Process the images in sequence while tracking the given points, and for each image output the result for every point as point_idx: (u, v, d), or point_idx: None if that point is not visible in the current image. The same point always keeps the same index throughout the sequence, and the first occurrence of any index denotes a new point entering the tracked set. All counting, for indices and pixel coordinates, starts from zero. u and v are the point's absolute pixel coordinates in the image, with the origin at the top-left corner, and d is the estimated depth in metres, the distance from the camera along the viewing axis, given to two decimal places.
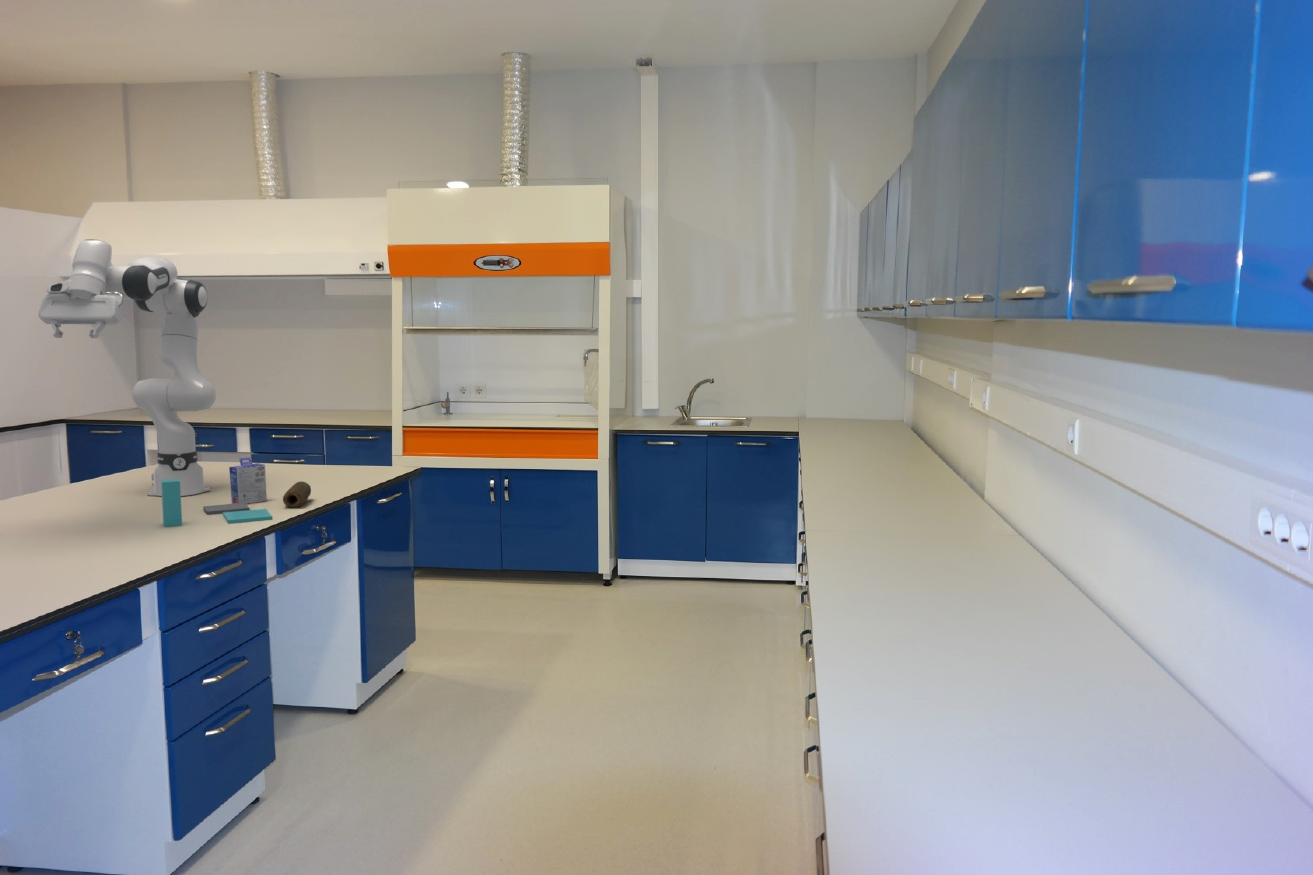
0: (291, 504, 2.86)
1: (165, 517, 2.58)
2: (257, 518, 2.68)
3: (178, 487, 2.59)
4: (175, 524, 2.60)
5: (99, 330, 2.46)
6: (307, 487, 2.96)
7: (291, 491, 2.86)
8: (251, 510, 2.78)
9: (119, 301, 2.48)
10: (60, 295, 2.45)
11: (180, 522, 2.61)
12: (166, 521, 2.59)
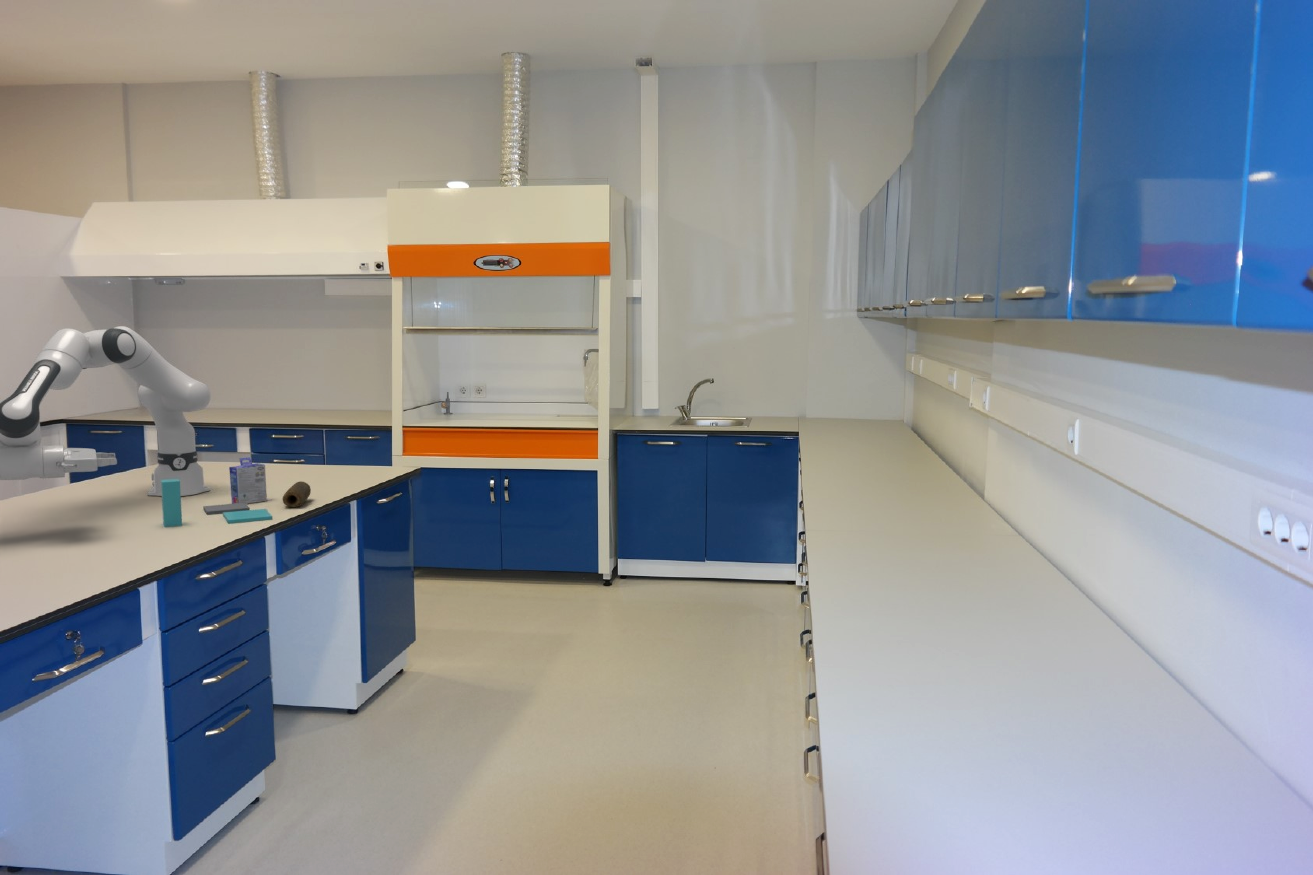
0: (291, 504, 2.86)
1: (165, 517, 2.58)
2: (257, 518, 2.68)
3: (178, 487, 2.59)
4: (175, 524, 2.60)
5: (107, 461, 2.46)
6: (307, 487, 2.95)
7: (291, 491, 2.86)
8: (251, 510, 2.78)
9: None
10: None
11: (180, 522, 2.61)
12: (166, 521, 2.59)
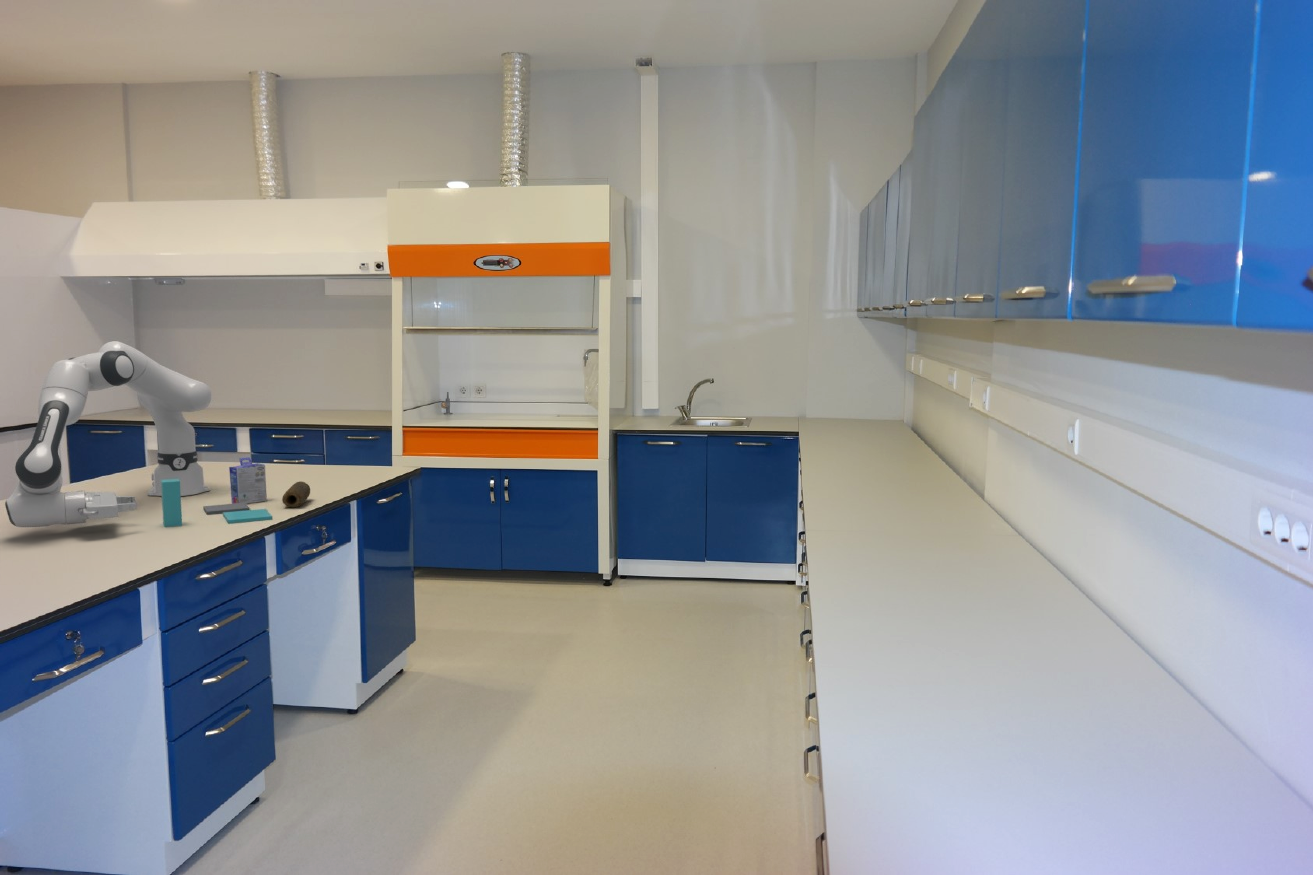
0: (291, 504, 2.86)
1: (165, 517, 2.58)
2: (257, 518, 2.68)
3: (178, 487, 2.59)
4: (175, 524, 2.60)
5: (128, 506, 2.50)
6: (307, 487, 2.95)
7: (291, 491, 2.86)
8: (251, 510, 2.78)
9: None
10: None
11: (180, 522, 2.61)
12: (166, 521, 2.59)
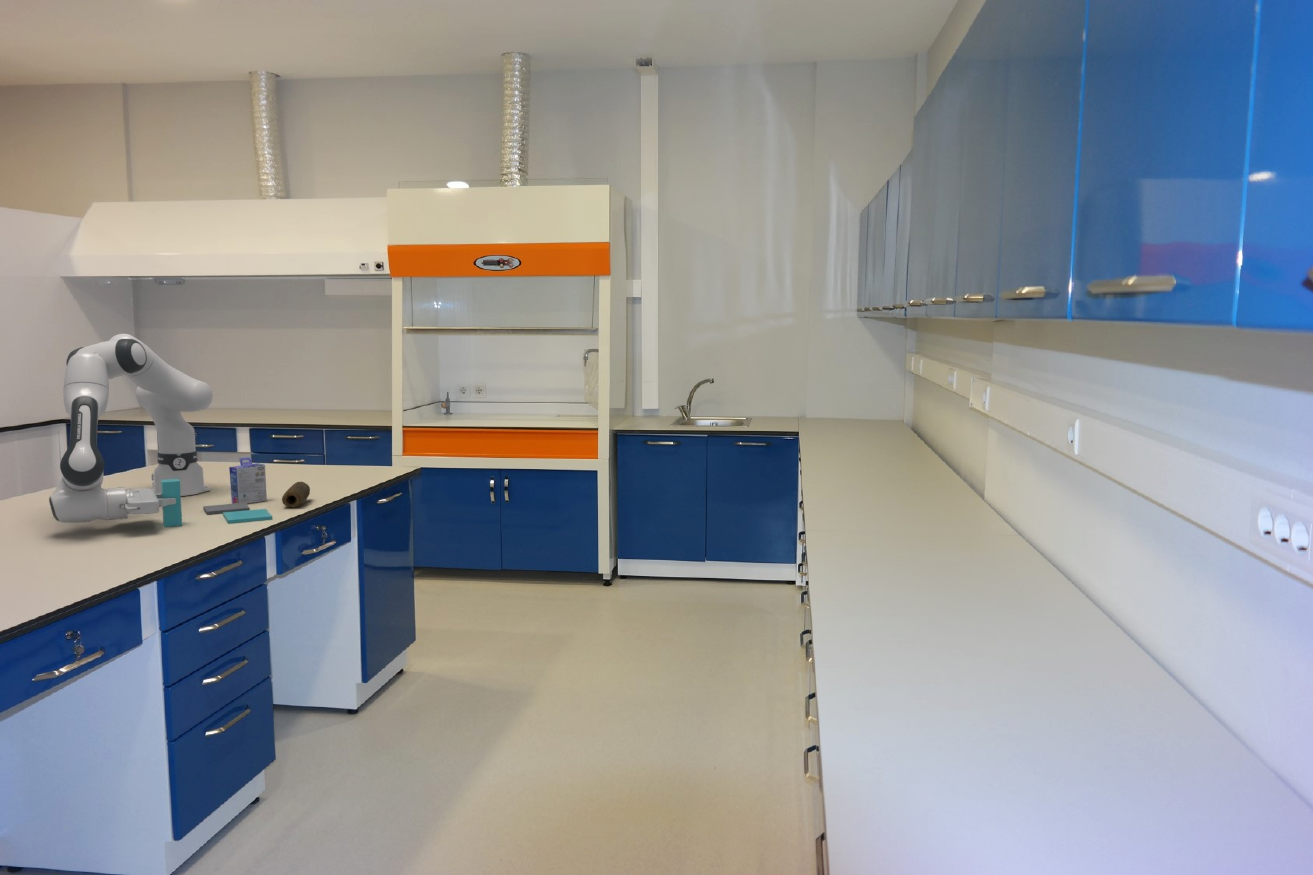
0: (290, 504, 2.86)
1: (165, 517, 2.58)
2: (257, 518, 2.68)
3: (178, 487, 2.59)
4: (175, 524, 2.60)
5: (167, 501, 2.57)
6: (306, 487, 2.95)
7: (290, 491, 2.86)
8: (251, 510, 2.78)
9: None
10: None
11: (180, 522, 2.61)
12: (166, 521, 2.59)
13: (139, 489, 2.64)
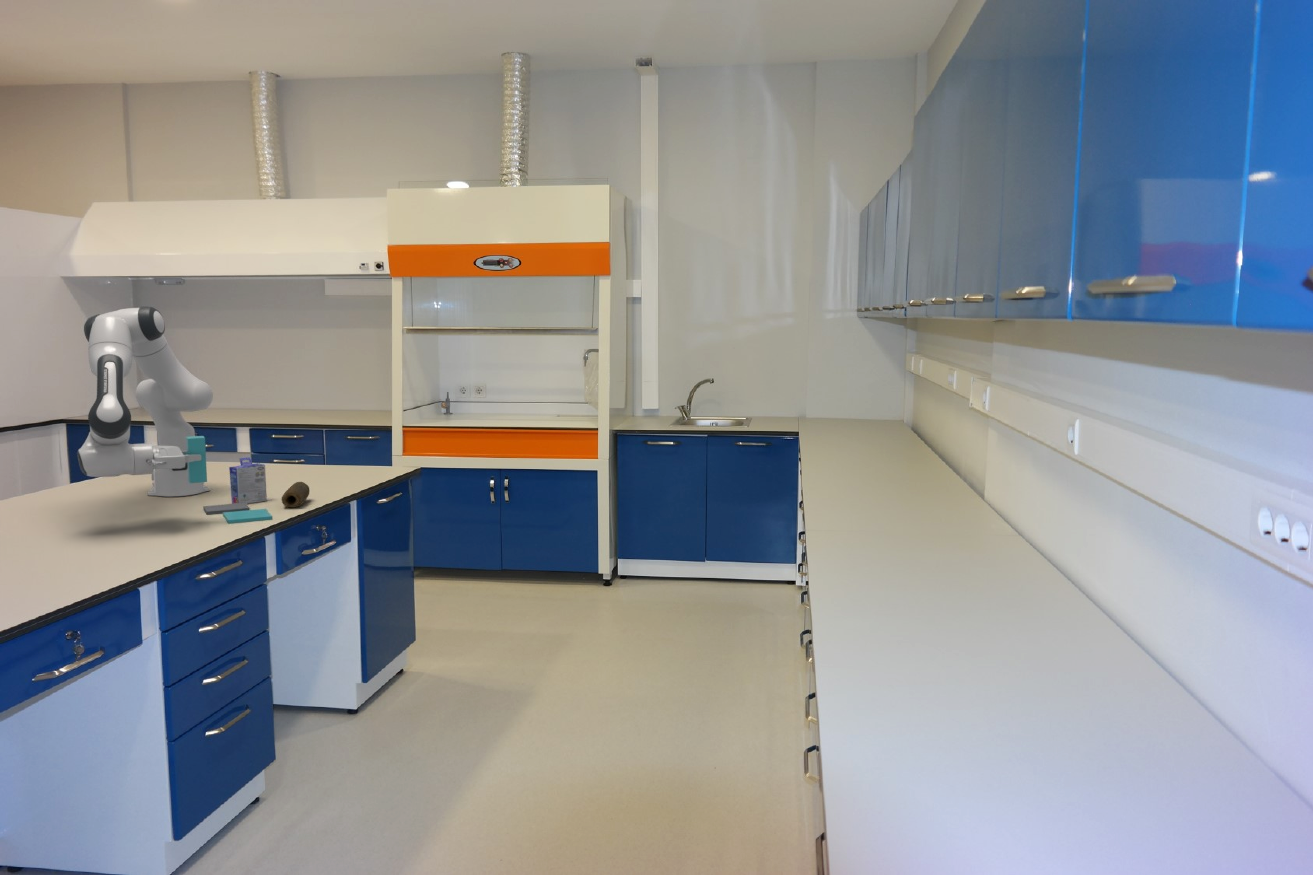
0: (290, 504, 2.86)
1: (190, 473, 2.61)
2: (257, 518, 2.68)
3: (203, 444, 2.62)
4: (200, 480, 2.62)
5: (193, 457, 2.59)
6: (306, 487, 2.95)
7: (290, 491, 2.85)
8: (251, 510, 2.78)
9: None
10: None
11: (205, 479, 2.63)
12: (192, 477, 2.61)
13: (164, 446, 2.66)
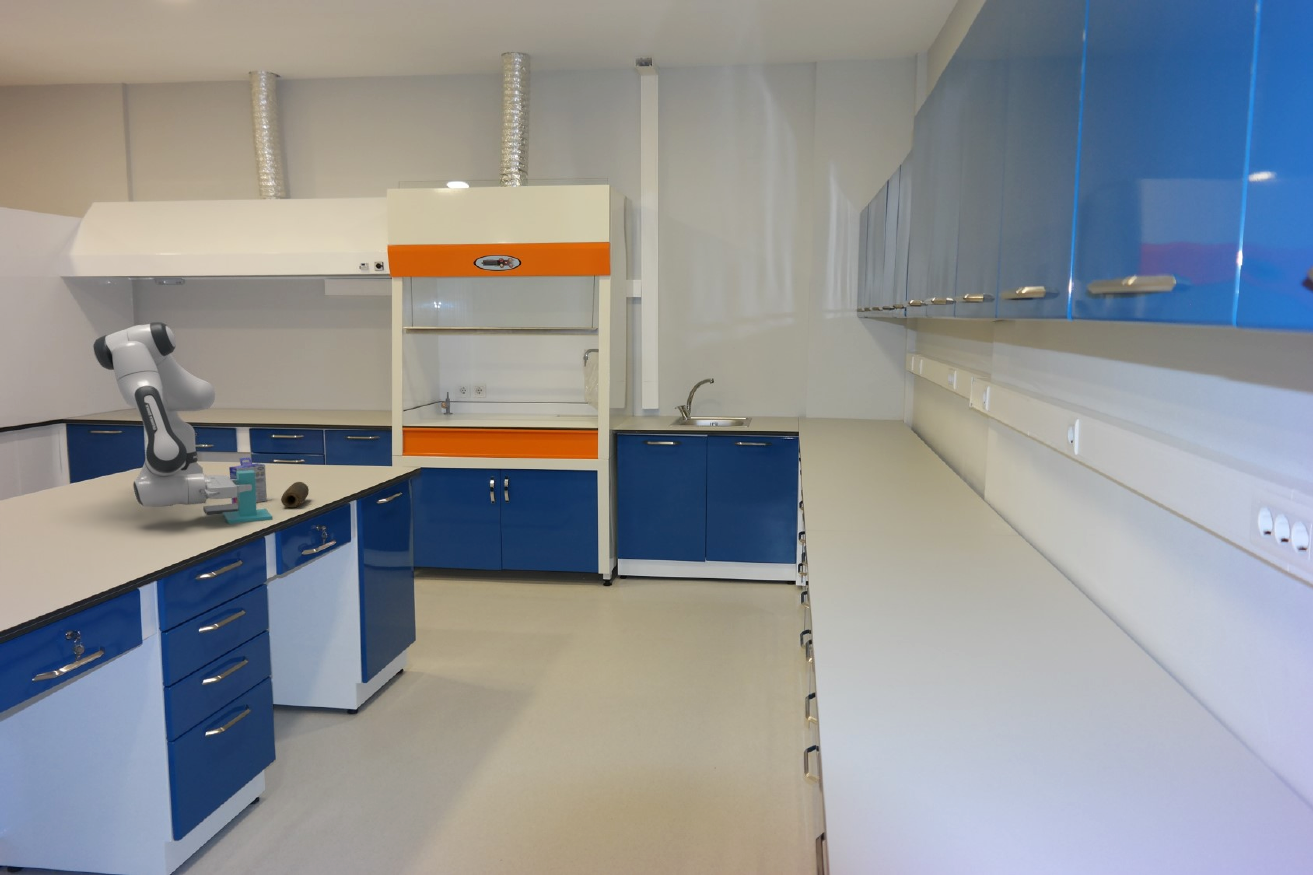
0: (290, 504, 2.86)
1: (241, 507, 2.69)
2: (257, 518, 2.68)
3: (253, 478, 2.70)
4: (250, 514, 2.71)
5: (244, 487, 2.66)
6: (305, 487, 2.95)
7: (290, 491, 2.85)
8: None
9: None
10: None
11: (255, 512, 2.71)
12: (242, 511, 2.69)
13: (214, 475, 2.74)
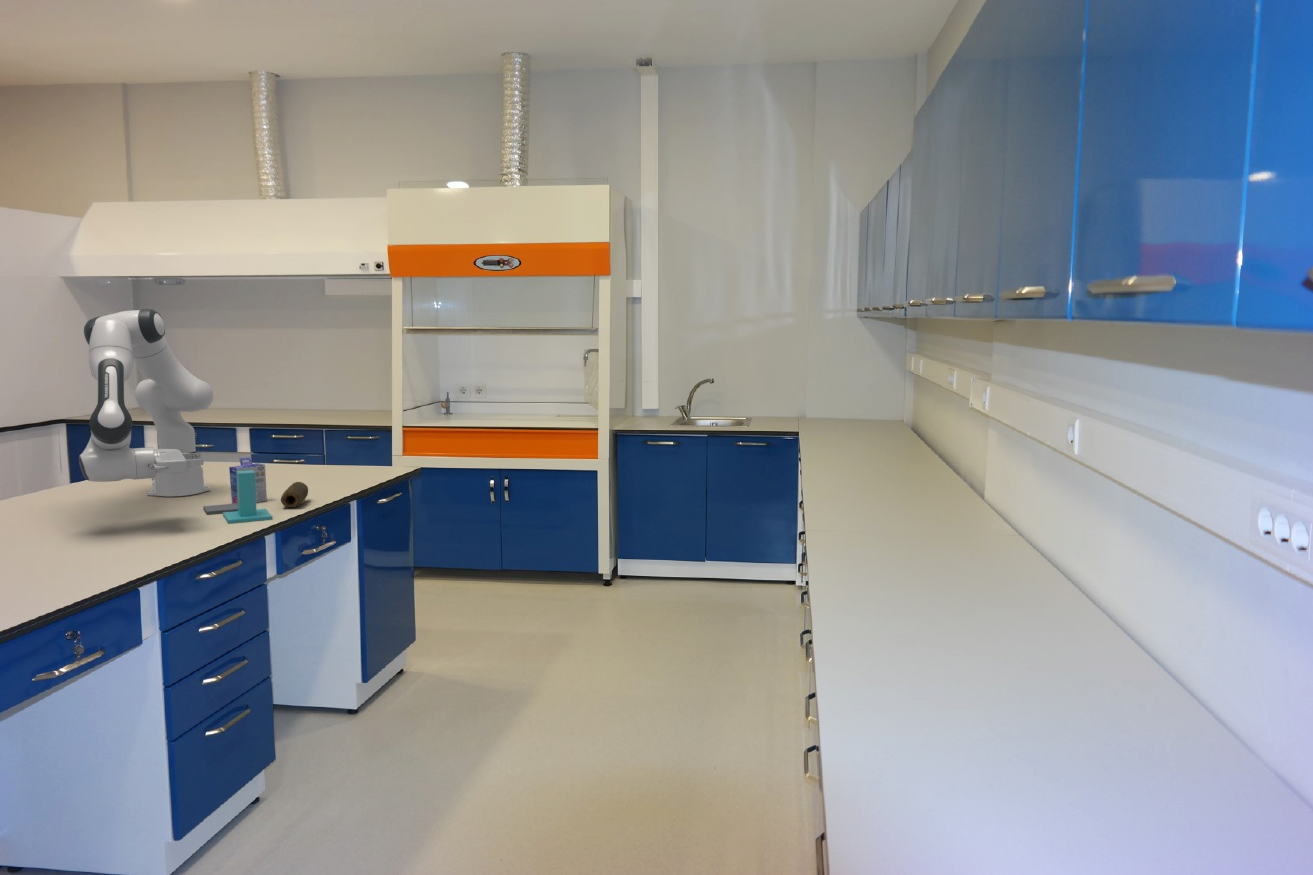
0: (289, 504, 2.85)
1: (241, 507, 2.69)
2: (257, 518, 2.68)
3: (253, 478, 2.70)
4: (250, 514, 2.71)
5: (195, 462, 2.58)
6: (305, 487, 2.95)
7: (289, 491, 2.85)
8: None
9: None
10: None
11: (255, 512, 2.71)
12: (242, 511, 2.69)
13: (165, 450, 2.66)
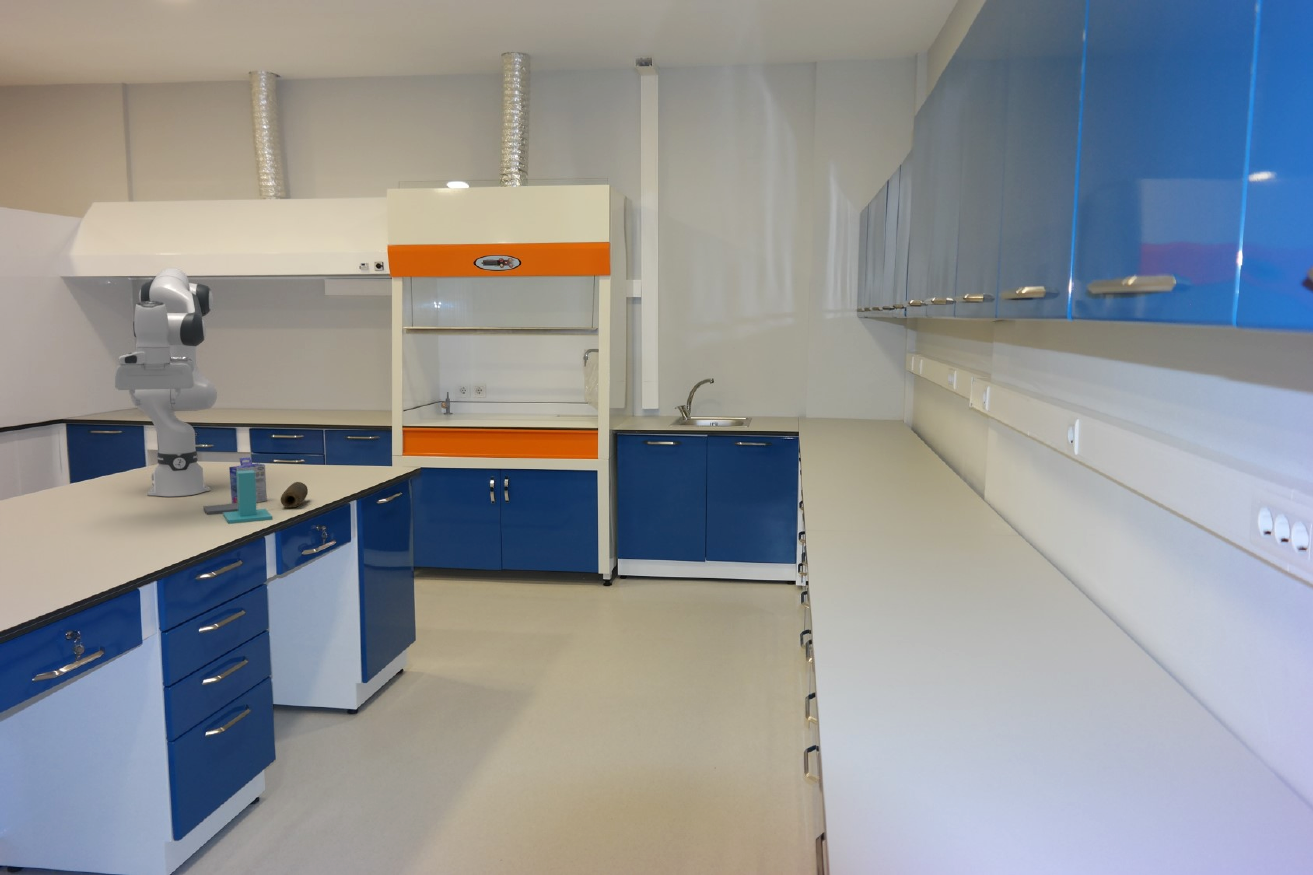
0: (289, 505, 2.85)
1: (241, 507, 2.69)
2: (257, 518, 2.68)
3: (253, 478, 2.70)
4: (250, 514, 2.71)
5: (177, 396, 2.68)
6: (304, 487, 2.95)
7: (289, 492, 2.85)
8: None
9: (191, 367, 2.68)
10: (136, 367, 2.58)
11: (255, 512, 2.71)
12: (242, 511, 2.69)
13: None
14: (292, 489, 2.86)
